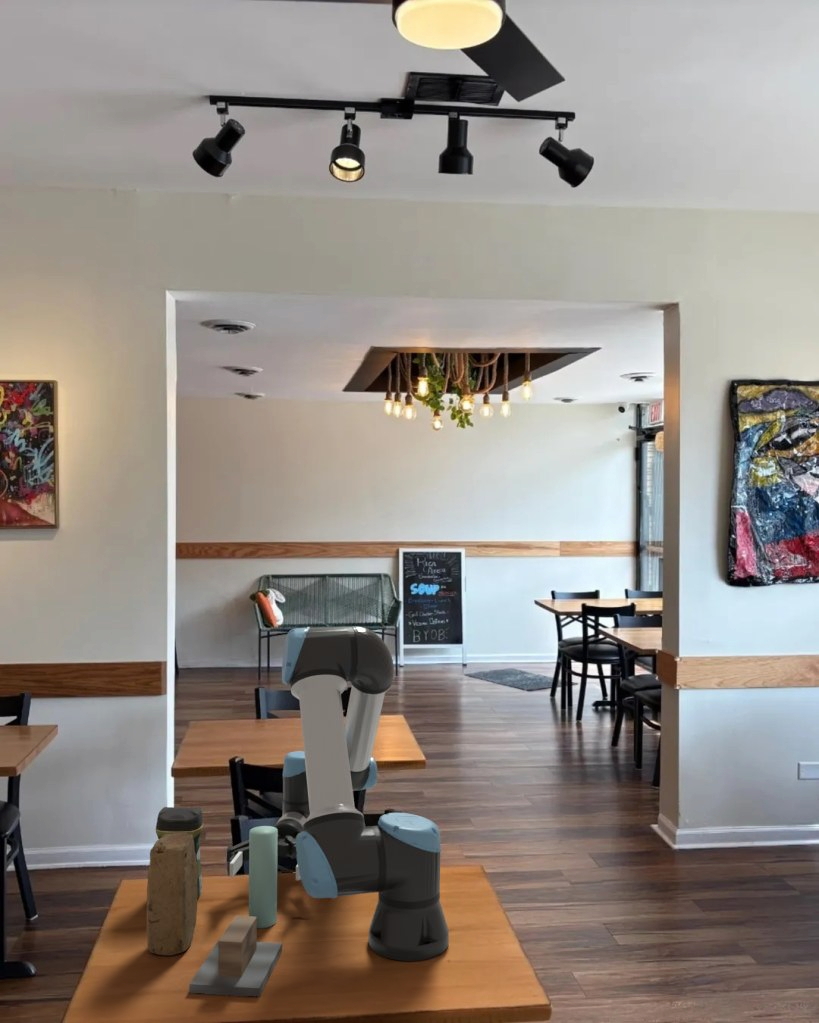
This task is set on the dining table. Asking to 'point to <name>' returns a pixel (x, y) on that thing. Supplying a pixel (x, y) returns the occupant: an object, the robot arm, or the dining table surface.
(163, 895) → the block
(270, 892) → the cylinder
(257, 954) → the ridge stand
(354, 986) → the dining table surface
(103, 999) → the dining table surface
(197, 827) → the coffee jar
